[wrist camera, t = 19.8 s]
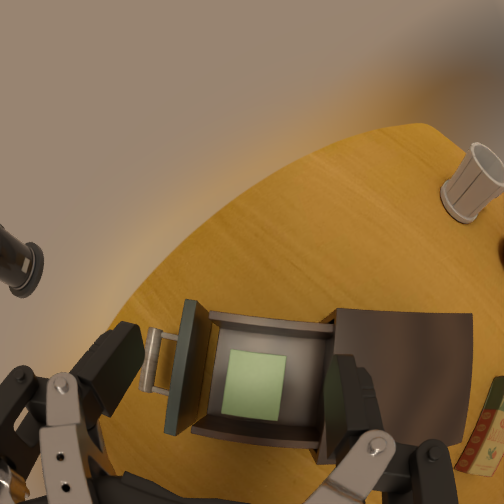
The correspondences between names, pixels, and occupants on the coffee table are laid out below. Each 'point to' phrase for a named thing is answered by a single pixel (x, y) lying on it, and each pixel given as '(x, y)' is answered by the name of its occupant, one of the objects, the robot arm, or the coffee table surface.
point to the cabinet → (409, 370)
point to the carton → (486, 436)
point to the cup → (473, 183)
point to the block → (254, 385)
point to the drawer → (192, 367)
